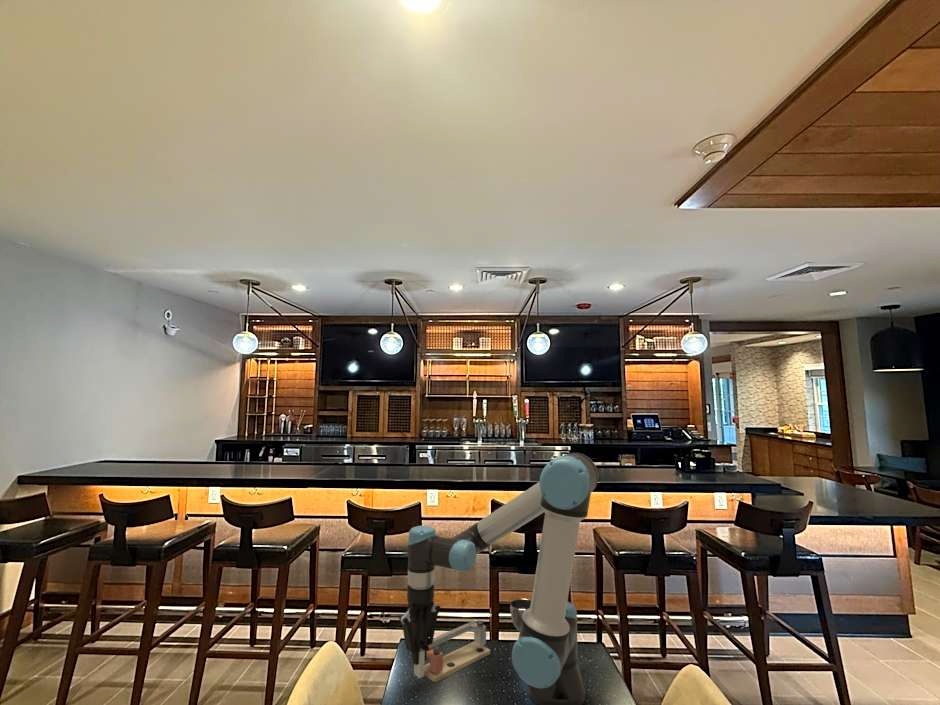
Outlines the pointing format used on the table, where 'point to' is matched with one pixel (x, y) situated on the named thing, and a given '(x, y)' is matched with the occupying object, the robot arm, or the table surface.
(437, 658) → the slide leg
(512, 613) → the wine glass
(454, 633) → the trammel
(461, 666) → the bolt plate
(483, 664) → the table surface
